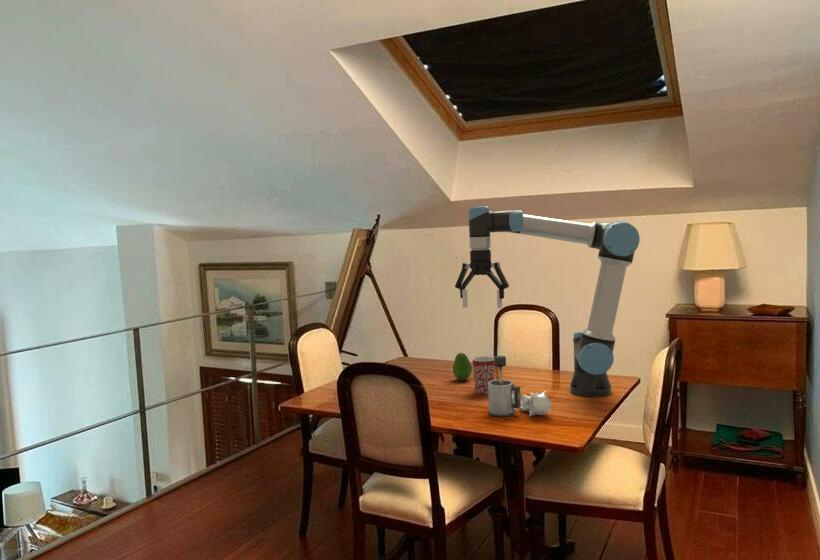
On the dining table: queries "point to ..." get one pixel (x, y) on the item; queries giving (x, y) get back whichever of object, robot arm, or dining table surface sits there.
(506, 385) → the grey coffee mug
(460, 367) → the avocado
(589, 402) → the dining table surface
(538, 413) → the figurine
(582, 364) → the robot arm
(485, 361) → the mug
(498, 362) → the plunger
